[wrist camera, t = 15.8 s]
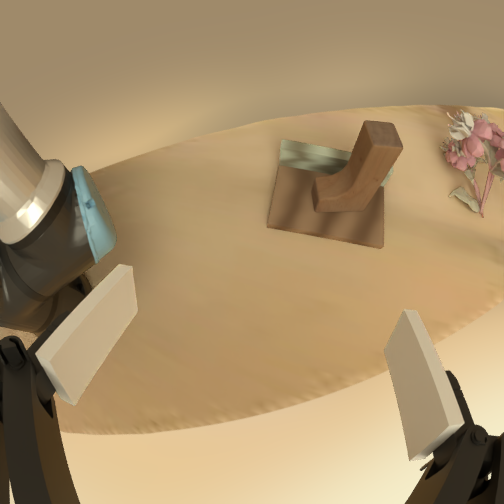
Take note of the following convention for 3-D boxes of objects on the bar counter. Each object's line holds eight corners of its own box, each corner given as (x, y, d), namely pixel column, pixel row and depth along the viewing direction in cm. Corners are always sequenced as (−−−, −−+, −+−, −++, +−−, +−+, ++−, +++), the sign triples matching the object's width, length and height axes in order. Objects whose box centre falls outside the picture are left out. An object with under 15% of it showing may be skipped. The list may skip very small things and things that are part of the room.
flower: (504, 179, 49) (518, 95, 31) (508, 247, 41) (544, 153, 23) (438, 163, 61) (438, 77, 42) (429, 225, 52) (438, 124, 34)
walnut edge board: (267, 227, 48) (268, 209, 42) (280, 161, 52) (282, 139, 46) (380, 248, 46) (395, 234, 40) (380, 182, 50) (392, 163, 44)
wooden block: (314, 213, 47) (338, 143, 30) (310, 190, 48) (330, 116, 31) (363, 212, 47) (405, 148, 30) (358, 189, 48) (393, 122, 31)
